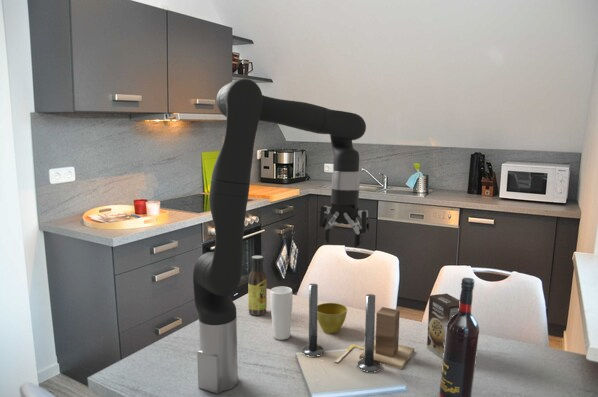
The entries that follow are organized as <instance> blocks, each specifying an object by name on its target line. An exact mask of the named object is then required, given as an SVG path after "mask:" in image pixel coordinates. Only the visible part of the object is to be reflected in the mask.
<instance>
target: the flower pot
mask: <svg viewBox="0 0 598 397" xmlns="http://www.w3.org/2000/svg"><path fill="white" fill-rule="evenodd" d="M347 313H348V307H347V306H345V305H343V304H342V303H337V302H325V303H320V304H318V310H317V323H318V324H319V326H320V328H321V330H322V331H323V332H324V333H327V334H335V333H338V332H339V331H340V330H341V329H342V327H343V324H344V323H345V320H346V318H347Z"/></svg>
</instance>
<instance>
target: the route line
mask: <svg viewBox="0 0 598 397" xmlns="http://www.w3.org/2000/svg"><path fill="white" fill-rule="evenodd" d="M354 348H355V349H359V350H363V349H365V346H362V345H357V344H350V345H349V347H348V348H346V349H345V351H350V350H351V349H352V350H353V349H354ZM352 350H351V351H352ZM351 351H350V352H351Z"/></svg>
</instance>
